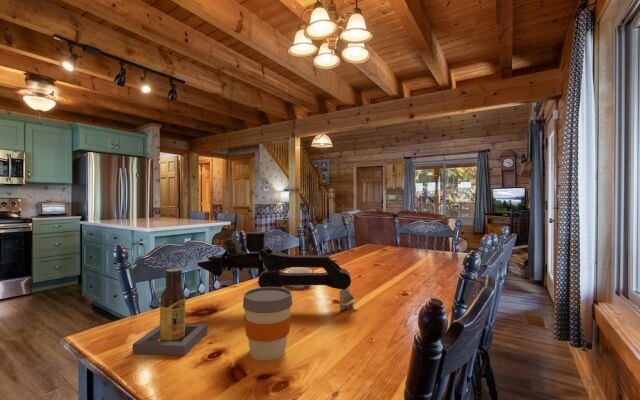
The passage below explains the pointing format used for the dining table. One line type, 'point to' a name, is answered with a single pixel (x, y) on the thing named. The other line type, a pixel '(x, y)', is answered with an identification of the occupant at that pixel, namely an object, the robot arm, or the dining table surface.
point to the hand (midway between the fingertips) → (203, 261)
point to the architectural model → (346, 299)
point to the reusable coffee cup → (267, 321)
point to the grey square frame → (155, 347)
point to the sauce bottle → (172, 308)
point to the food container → (298, 270)
